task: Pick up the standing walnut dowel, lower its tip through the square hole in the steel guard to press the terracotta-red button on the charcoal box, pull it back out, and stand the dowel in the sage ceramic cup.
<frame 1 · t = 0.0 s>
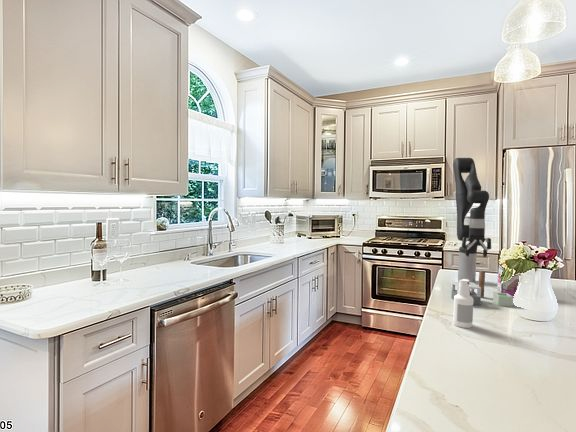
hand: (476, 256, 194), 17 cm above the counter, tool pointing down, fingers open, 8 cm apart
sage cup: (502, 304, 167), on the counter
spray bottle: (462, 325, 140), on the counter
red button: (465, 291, 170), point 5 cm above the counter, slide at 0.0 cm
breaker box: (465, 301, 170), on the counter
candy bar box: (510, 296, 181), on the counter
walnut dowel: (480, 297, 177), on the counter
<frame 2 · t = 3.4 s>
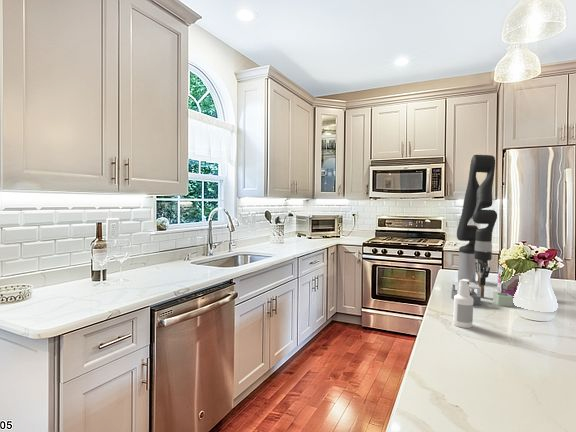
hand: (481, 284, 177), 7 cm above the counter, tool pointing down, fingers closed on walnut dowel, 2 cm apart
walnut dowel: (480, 297, 177), on the counter, touching gripper
everything else where it was.
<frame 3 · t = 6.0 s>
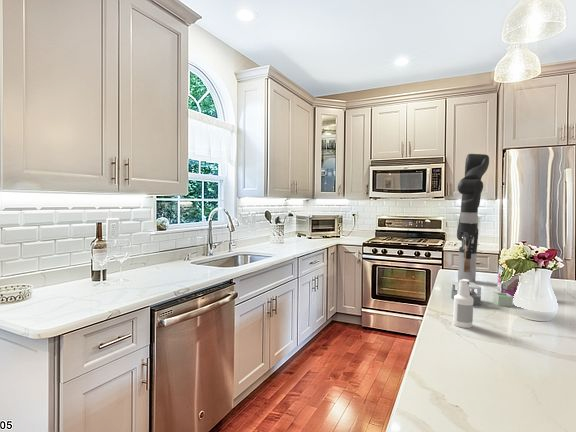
hand: (467, 258, 169), 21 cm above the counter, tool pointing down, fingers closed on walnut dowel, 2 cm apart
walnut dowel: (466, 271, 169), point 14 cm above the counter, touching gripper
everything else where it was.
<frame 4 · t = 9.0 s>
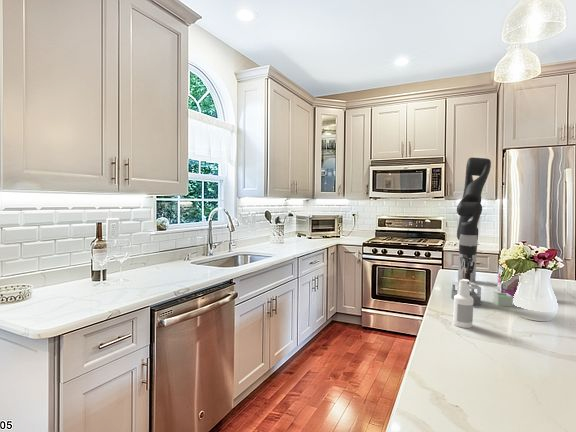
hand: (466, 279, 170), 10 cm above the counter, tool pointing down, fingers closed on walnut dowel, 2 cm apart
red button: (465, 296, 170), point 2 cm above the counter, slide at 2.6 cm, touching walnut dowel
walnut dowel: (465, 293, 170), point 4 cm above the counter, touching gripper, red button
everything else where it was.
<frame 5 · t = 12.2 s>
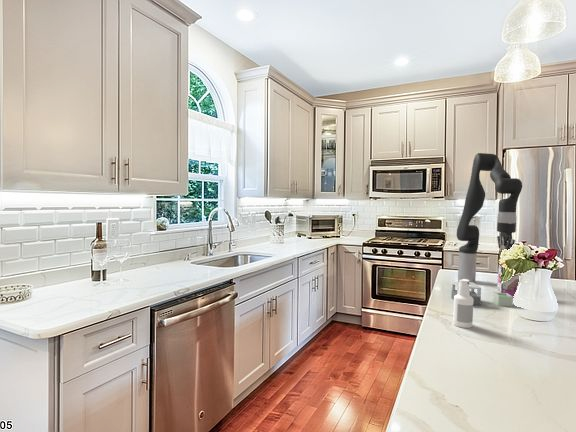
hand: (504, 258, 165), 22 cm above the counter, tool pointing down, fingers closed on walnut dowel, 2 cm apart
red button: (465, 296, 170), point 2 cm above the counter, slide at 2.7 cm
walnut dowel: (504, 272, 166), point 15 cm above the counter, touching gripper
everything else where it was.
when the fingers open (8 cm above the counter, at t = 15.4 s): walnut dowel stays where it is, resting on sage cup.
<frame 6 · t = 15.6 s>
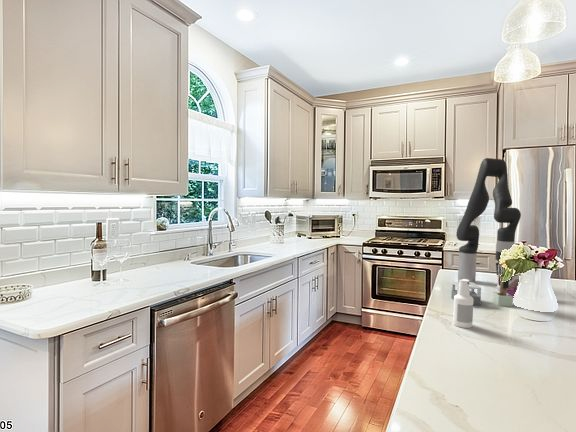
hand: (503, 286, 166), 8 cm above the counter, tool pointing down, fingers open, 4 cm apart
walnut dowel: (502, 302, 167), point 1 cm above the counter, touching sage cup
everything else where it was.
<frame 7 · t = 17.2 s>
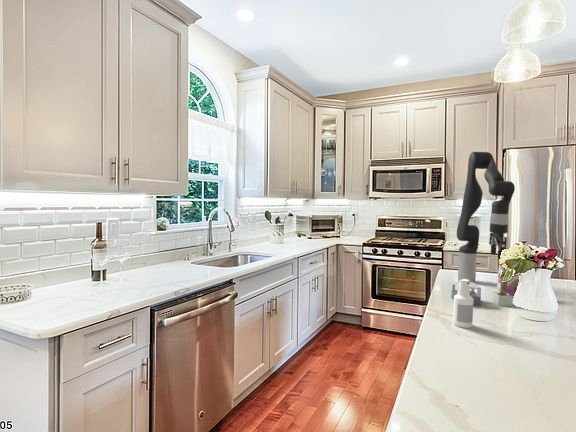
hand: (496, 256, 172), 21 cm above the counter, tool pointing down, fingers open, 8 cm apart
nothing on the counter moved.
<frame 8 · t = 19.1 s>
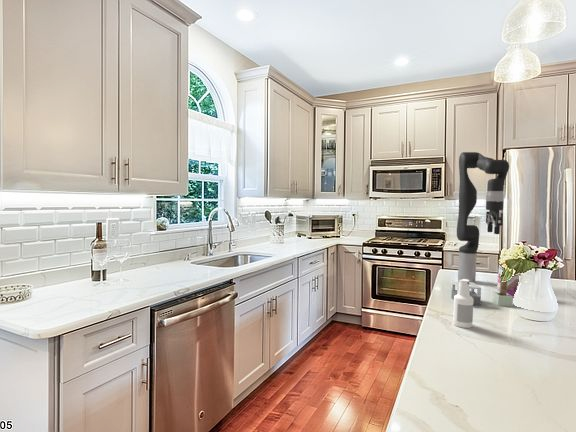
hand: (493, 233, 176), 32 cm above the counter, tool pointing down, fingers open, 8 cm apart
nothing on the counter moved.
at the end: red button slide at 2.7 cm; walnut dowel 0.1 cm off-centre on the sage cup, point 0.6 cm above the sage cup's base; the gripper is holding nothing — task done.
